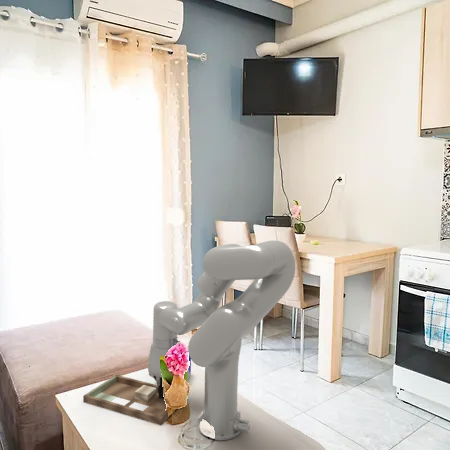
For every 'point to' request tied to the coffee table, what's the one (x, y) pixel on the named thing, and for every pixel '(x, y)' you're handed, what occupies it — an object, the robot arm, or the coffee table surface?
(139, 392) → the block
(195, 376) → the coffee table surface
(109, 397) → the box
